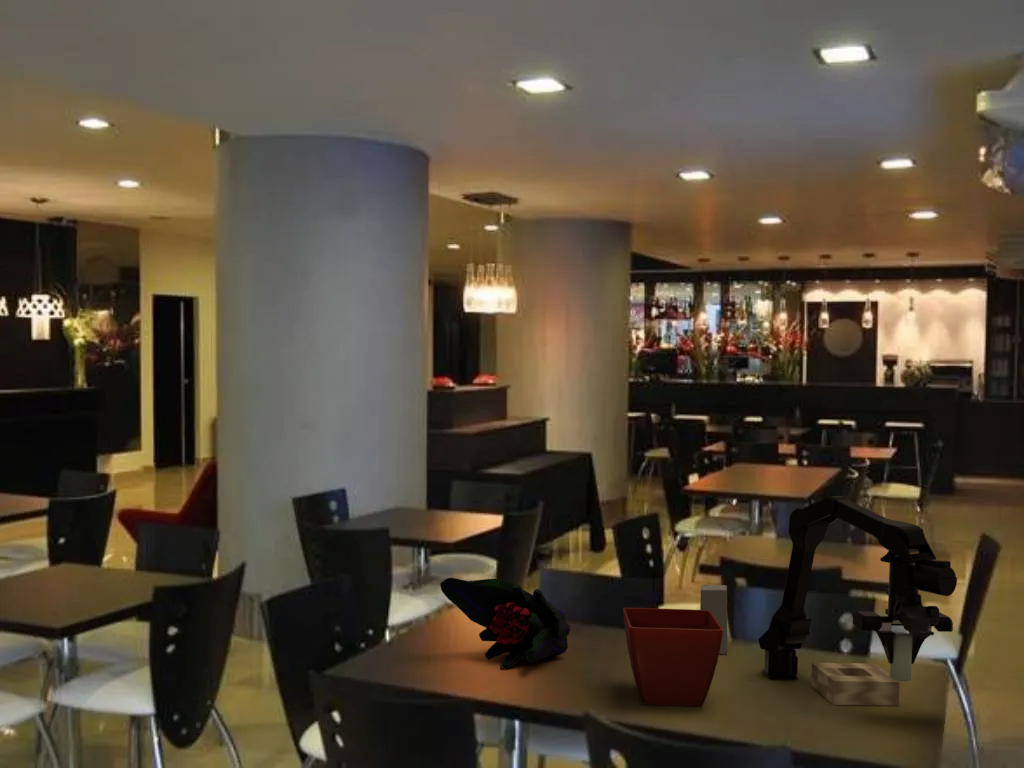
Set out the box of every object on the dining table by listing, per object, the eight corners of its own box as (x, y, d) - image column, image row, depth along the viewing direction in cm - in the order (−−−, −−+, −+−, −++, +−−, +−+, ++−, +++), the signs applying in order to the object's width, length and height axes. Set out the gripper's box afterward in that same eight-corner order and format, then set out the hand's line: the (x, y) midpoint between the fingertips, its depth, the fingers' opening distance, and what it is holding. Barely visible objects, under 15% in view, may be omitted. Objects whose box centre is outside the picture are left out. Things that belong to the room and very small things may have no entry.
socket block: (833, 704, 229) (834, 680, 229) (811, 685, 243) (812, 662, 243) (898, 705, 230) (899, 681, 230) (872, 685, 244) (873, 663, 244)
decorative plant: (562, 700, 258) (478, 691, 236) (497, 636, 275) (413, 622, 254) (606, 626, 255) (525, 610, 234) (538, 566, 273) (457, 546, 251)
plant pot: (620, 682, 241) (622, 606, 241) (707, 685, 241) (710, 609, 240) (626, 709, 222) (629, 626, 222) (721, 713, 222) (724, 630, 221)
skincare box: (727, 655, 267) (729, 590, 266) (697, 653, 268) (699, 588, 268) (727, 647, 275) (729, 584, 275) (698, 644, 276) (701, 582, 276)
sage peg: (894, 681, 221) (896, 636, 221) (886, 675, 225) (888, 631, 225) (914, 681, 221) (915, 637, 221) (906, 675, 225) (907, 632, 225)
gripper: (874, 594, 214) (871, 674, 214) (967, 596, 215) (964, 675, 215) (852, 583, 225) (850, 658, 225) (941, 584, 226) (938, 660, 226)
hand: (900, 663), depth 223 cm, fingers closed on sage peg, 4 cm apart
